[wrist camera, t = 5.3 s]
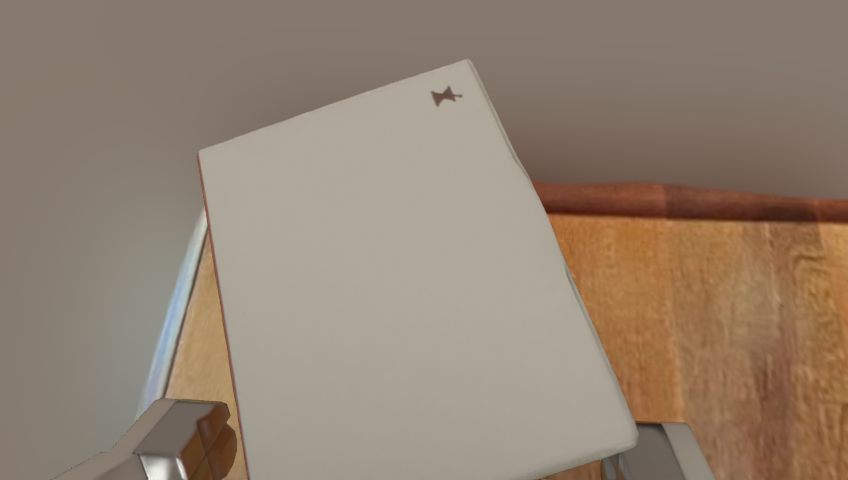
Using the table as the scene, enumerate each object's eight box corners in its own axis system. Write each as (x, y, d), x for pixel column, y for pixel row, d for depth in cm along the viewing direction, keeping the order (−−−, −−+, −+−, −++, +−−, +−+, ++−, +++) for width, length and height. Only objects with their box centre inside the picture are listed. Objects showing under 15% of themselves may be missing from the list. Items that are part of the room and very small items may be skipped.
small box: (348, 299, 23) (187, 141, 10) (482, 254, 23) (474, 45, 11) (398, 492, 19) (252, 579, 7) (553, 439, 19) (659, 441, 7)
